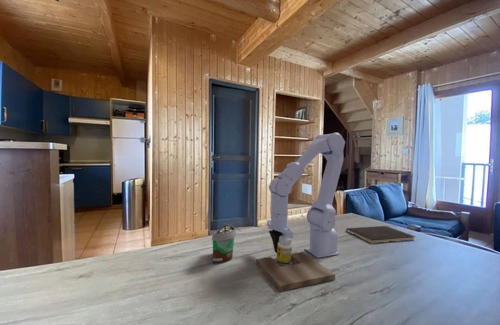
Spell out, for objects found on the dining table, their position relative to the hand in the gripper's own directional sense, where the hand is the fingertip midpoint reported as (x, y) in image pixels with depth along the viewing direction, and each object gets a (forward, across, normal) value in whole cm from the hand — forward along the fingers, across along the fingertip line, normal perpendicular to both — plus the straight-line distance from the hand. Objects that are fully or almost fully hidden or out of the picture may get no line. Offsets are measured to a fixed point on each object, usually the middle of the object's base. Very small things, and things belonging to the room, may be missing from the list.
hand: (278, 251), depth 78 cm
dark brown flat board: (+3, -6, +56) cm, 56 cm away
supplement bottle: (+2, +4, 0) cm, 4 cm away
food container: (+2, -6, -17) cm, 18 cm away
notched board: (+2, +10, 0) cm, 10 cm away
